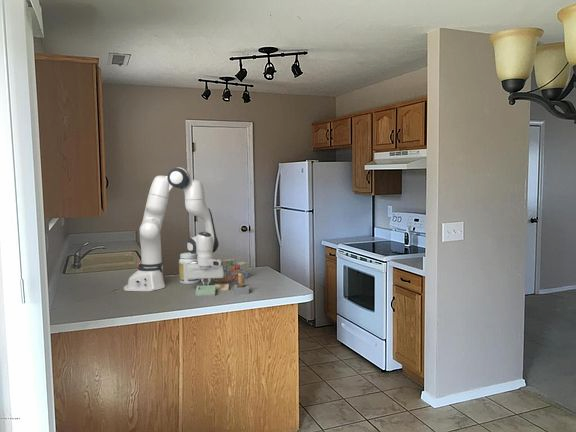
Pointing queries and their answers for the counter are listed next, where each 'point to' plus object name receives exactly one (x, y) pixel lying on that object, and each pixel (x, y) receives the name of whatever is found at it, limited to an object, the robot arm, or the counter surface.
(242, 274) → the dowel
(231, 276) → the stack of blocks
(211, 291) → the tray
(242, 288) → the collar
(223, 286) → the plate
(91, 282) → the counter surface
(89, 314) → the counter surface
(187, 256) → the supplement tub
